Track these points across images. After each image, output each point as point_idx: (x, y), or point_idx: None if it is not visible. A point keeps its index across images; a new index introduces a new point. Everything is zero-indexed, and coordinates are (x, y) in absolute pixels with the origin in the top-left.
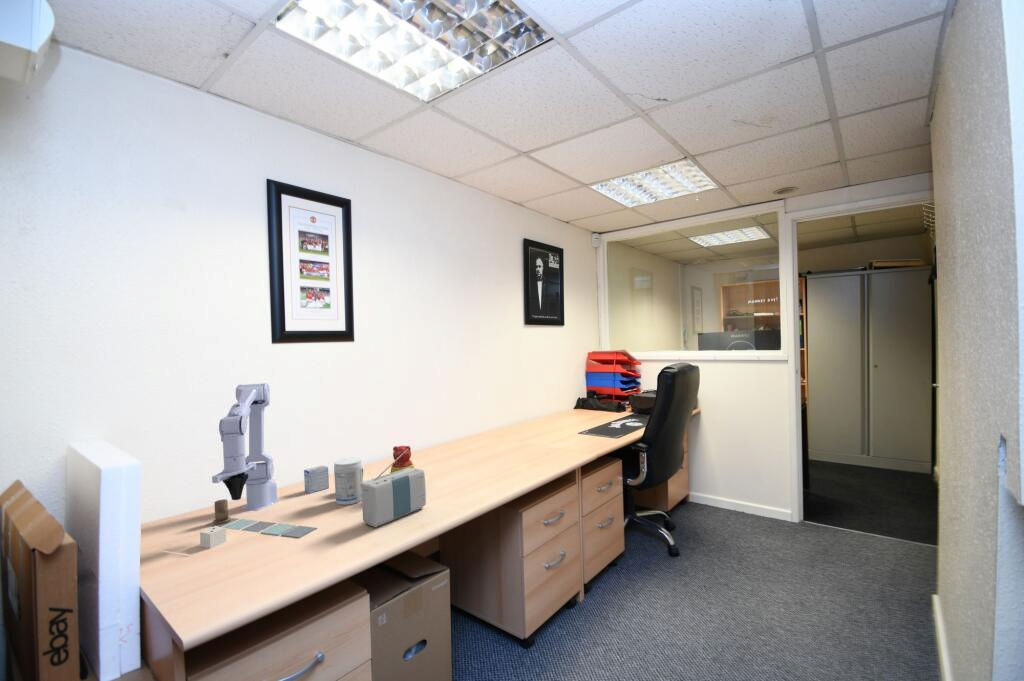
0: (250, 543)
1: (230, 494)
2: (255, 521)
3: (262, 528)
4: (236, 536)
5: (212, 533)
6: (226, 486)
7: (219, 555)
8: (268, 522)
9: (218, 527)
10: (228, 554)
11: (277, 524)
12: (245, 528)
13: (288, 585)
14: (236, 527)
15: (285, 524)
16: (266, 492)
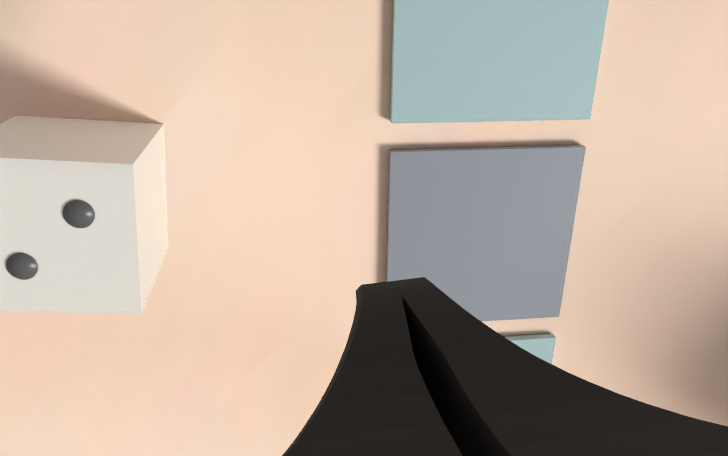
0: (228, 417)
1: (351, 330)
2: (576, 109)
3: None
4: (289, 215)
5: (2, 307)
6: (302, 429)
7: (7, 392)
8: (564, 245)
9: (119, 236)
10: (48, 431)
11: (535, 342)
12: (423, 165)
13: None
14: (427, 54)
15: None
16: None
